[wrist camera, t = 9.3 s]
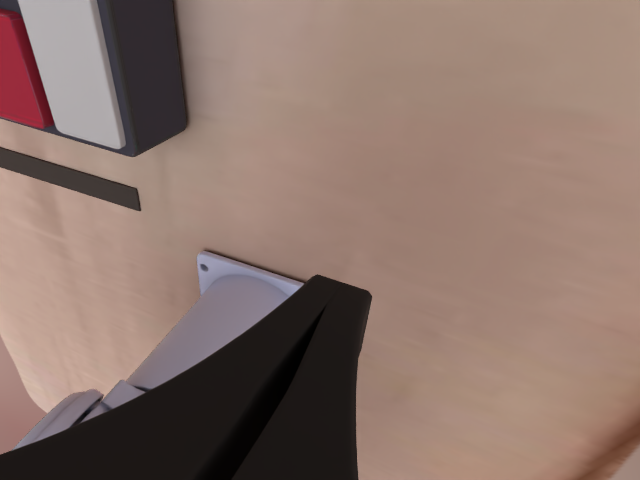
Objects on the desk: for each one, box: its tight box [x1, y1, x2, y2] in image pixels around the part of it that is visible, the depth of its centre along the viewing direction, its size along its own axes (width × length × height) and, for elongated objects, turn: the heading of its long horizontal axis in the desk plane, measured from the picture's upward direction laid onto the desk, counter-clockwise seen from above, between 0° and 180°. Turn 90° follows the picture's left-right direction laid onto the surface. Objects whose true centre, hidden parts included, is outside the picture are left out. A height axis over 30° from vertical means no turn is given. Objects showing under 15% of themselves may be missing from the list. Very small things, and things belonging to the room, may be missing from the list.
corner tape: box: [0, 148, 141, 211], centre depth 23 cm, size 20×13×1 cm, turn 175°
